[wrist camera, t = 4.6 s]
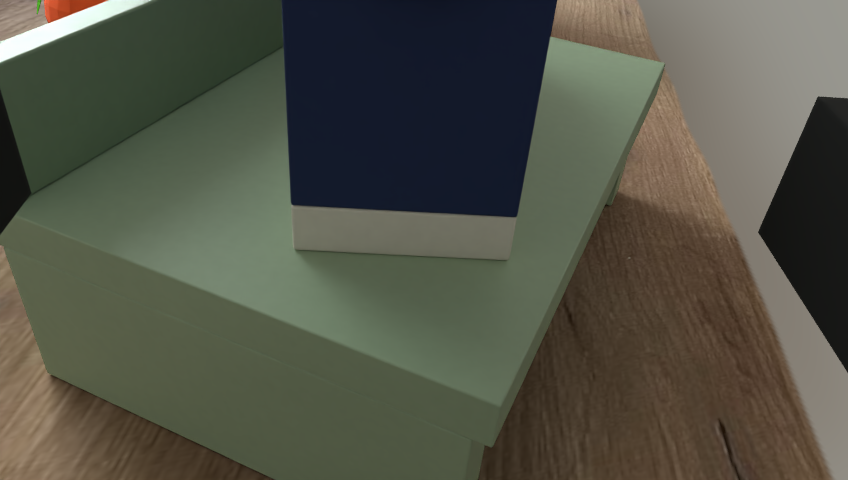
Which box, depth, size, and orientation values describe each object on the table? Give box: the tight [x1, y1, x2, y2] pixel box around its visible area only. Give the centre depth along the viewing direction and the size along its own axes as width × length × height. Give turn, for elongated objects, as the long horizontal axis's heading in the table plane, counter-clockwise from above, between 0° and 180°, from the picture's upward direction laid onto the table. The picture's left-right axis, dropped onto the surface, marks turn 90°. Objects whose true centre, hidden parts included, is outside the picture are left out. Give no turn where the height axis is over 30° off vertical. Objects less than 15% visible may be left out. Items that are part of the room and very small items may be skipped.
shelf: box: [0, 0, 665, 480], centre depth 27 cm, size 16×22×11 cm
